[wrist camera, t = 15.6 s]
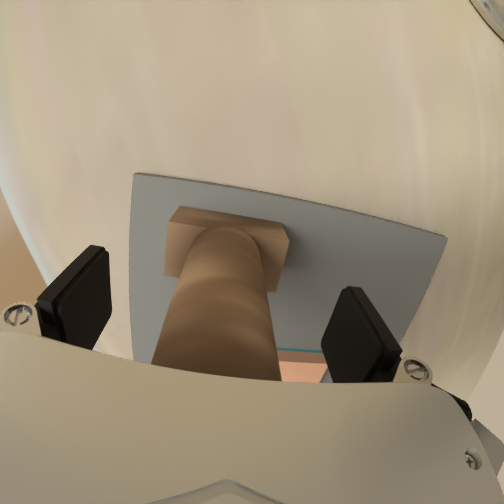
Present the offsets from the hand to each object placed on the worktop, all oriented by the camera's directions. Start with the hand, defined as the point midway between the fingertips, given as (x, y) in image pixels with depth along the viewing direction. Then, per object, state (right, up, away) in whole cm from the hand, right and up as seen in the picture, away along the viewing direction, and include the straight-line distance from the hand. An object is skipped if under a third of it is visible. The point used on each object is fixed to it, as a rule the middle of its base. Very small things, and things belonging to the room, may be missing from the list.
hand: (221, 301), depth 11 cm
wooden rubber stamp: (0, +3, +6) cm, 7 cm away
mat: (+3, -6, +11) cm, 13 cm away
